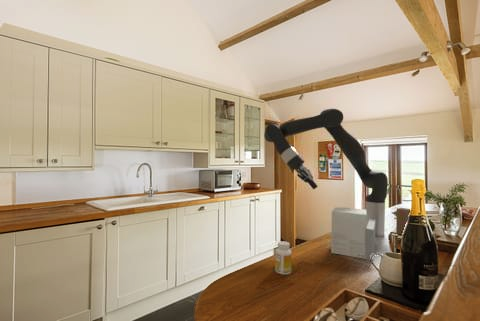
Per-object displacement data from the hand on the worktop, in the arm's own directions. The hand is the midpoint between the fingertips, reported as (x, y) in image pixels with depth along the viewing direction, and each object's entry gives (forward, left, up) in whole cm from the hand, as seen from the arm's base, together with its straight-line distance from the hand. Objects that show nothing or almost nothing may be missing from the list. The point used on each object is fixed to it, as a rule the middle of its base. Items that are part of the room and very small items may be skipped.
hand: (315, 187), depth 117 cm
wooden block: (-13, +37, -26) cm, 47 cm away
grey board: (-3, +23, -26) cm, 35 cm away
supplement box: (+1, +15, -26) cm, 30 cm away
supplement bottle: (+36, -2, -26) cm, 44 cm away
